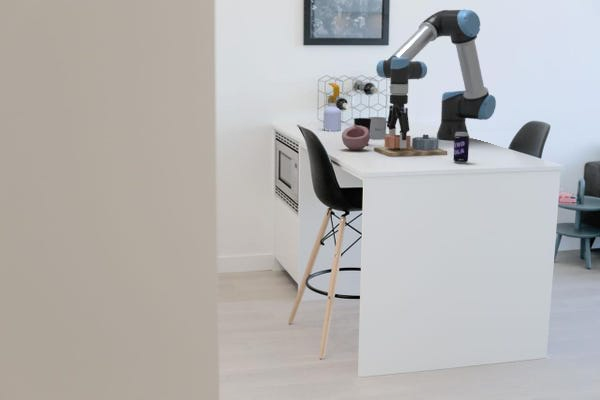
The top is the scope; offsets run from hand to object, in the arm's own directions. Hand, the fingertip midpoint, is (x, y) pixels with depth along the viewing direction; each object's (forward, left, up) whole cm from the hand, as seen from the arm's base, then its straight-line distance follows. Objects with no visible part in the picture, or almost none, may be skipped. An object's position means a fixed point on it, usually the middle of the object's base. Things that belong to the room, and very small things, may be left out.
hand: (397, 146), depth 360 cm
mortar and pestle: (+14, -13, -3) cm, 19 cm away
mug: (-13, -51, -3) cm, 53 cm away
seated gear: (-13, 0, -2) cm, 13 cm away
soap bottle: (-1, -89, -3) cm, 89 cm away
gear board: (-6, 0, -3) cm, 7 cm away
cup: (+5, -29, -3) cm, 30 cm away
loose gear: (0, 0, 0) cm, 0 cm away
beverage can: (-14, +31, -3) cm, 34 cm away
